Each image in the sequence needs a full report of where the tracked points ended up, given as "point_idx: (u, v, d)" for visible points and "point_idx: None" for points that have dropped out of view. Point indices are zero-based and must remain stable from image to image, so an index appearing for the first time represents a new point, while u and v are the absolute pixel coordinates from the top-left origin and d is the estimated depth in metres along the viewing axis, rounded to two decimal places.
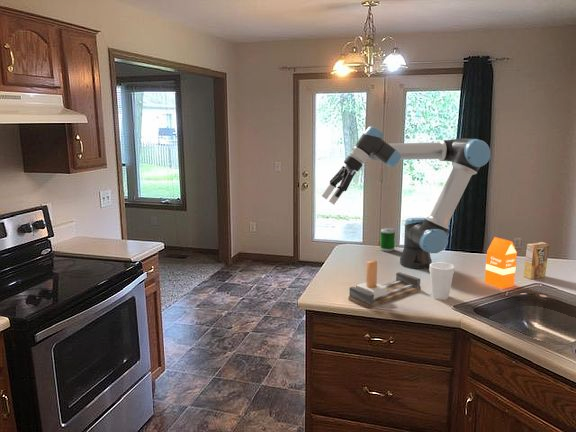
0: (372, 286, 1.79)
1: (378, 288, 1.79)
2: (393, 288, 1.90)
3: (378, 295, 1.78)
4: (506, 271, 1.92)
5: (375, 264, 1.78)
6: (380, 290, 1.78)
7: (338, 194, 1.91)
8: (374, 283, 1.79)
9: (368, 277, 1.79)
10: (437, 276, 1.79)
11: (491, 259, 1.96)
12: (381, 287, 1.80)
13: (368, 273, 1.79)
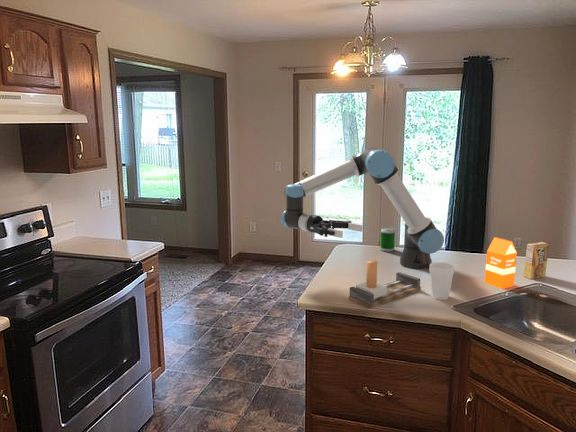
0: (372, 286, 1.79)
1: (378, 288, 1.79)
2: (393, 288, 1.90)
3: (378, 295, 1.78)
4: (506, 271, 1.92)
5: (375, 264, 1.78)
6: (380, 290, 1.78)
7: (330, 233, 1.81)
8: (374, 283, 1.79)
9: (368, 277, 1.79)
10: (437, 276, 1.80)
11: (491, 259, 1.96)
12: (381, 287, 1.80)
13: (368, 273, 1.79)
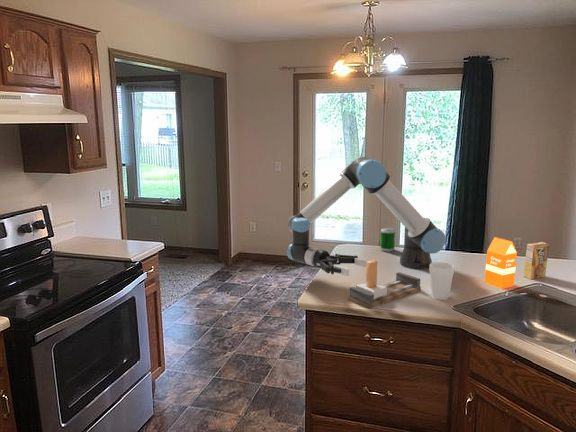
0: (372, 286, 1.79)
1: (378, 288, 1.79)
2: (393, 288, 1.90)
3: (378, 295, 1.78)
4: (506, 271, 1.92)
5: (375, 264, 1.78)
6: (380, 290, 1.78)
7: (336, 270, 1.81)
8: (374, 283, 1.79)
9: (368, 277, 1.79)
10: (437, 276, 1.80)
11: (491, 259, 1.96)
12: (381, 287, 1.80)
13: (368, 273, 1.79)
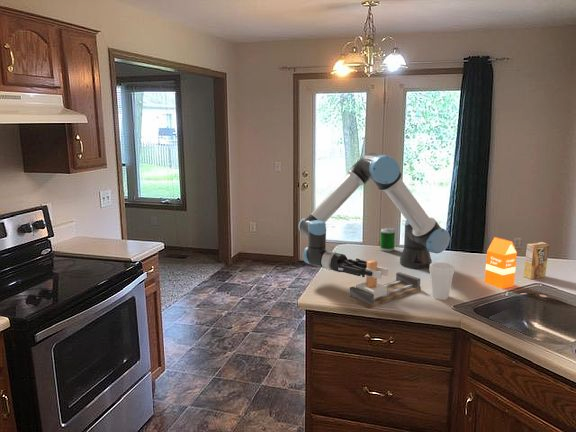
0: (372, 286, 1.79)
1: (378, 288, 1.79)
2: (393, 288, 1.90)
3: (378, 295, 1.78)
4: (506, 271, 1.92)
5: (375, 264, 1.78)
6: (380, 290, 1.78)
7: (368, 273, 1.77)
8: (374, 283, 1.79)
9: (368, 277, 1.79)
10: (437, 276, 1.79)
11: (491, 259, 1.96)
12: (381, 287, 1.80)
13: None
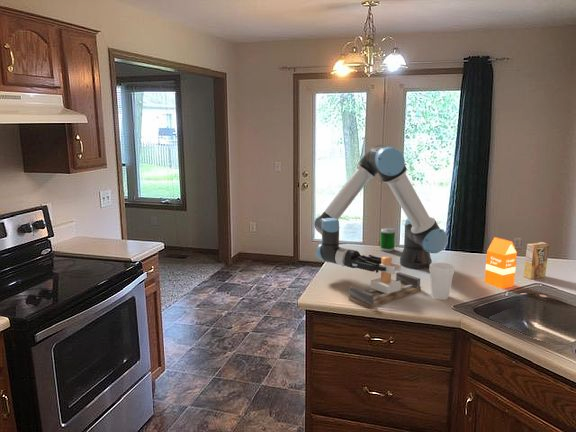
0: (386, 281, 1.84)
1: (392, 283, 1.84)
2: None
3: (392, 290, 1.83)
4: (506, 271, 1.92)
5: (390, 260, 1.83)
6: (395, 285, 1.83)
7: (381, 269, 1.82)
8: (388, 278, 1.84)
9: (383, 273, 1.84)
10: (437, 276, 1.79)
11: (491, 259, 1.96)
12: (395, 282, 1.85)
13: None
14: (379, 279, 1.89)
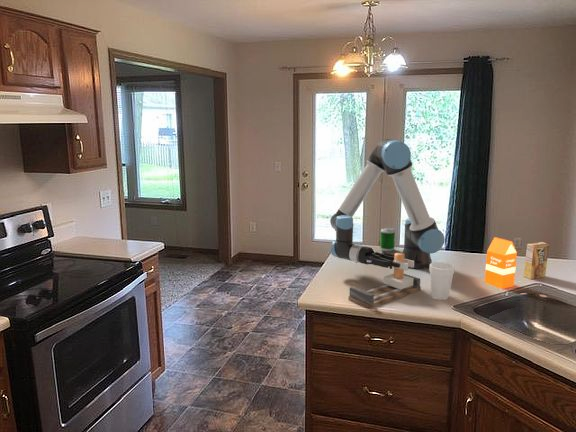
0: (399, 277, 1.89)
1: (405, 279, 1.88)
2: (393, 288, 1.90)
3: (405, 286, 1.87)
4: (506, 271, 1.92)
5: (402, 256, 1.87)
6: (407, 281, 1.88)
7: (395, 265, 1.86)
8: (401, 274, 1.89)
9: (396, 269, 1.89)
10: (437, 276, 1.79)
11: (491, 259, 1.96)
12: (408, 278, 1.89)
13: None
14: (392, 275, 1.93)
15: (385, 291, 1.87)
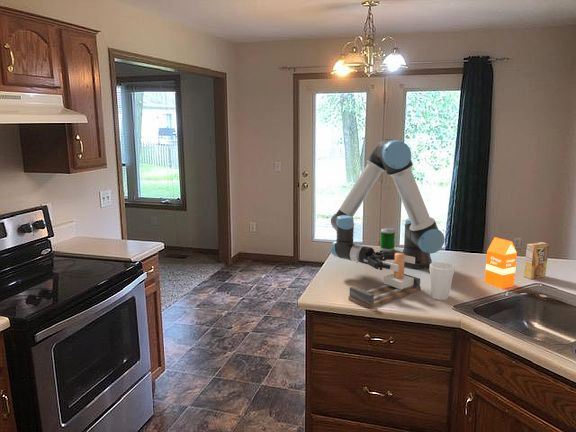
0: (400, 277, 1.89)
1: (405, 279, 1.88)
2: (393, 288, 1.90)
3: (406, 286, 1.87)
4: (506, 271, 1.92)
5: (403, 256, 1.87)
6: (408, 281, 1.88)
7: (386, 266, 1.85)
8: (402, 274, 1.89)
9: None
10: (437, 276, 1.79)
11: (491, 259, 1.96)
12: (408, 278, 1.89)
13: None
14: (392, 275, 1.93)
15: (385, 291, 1.87)
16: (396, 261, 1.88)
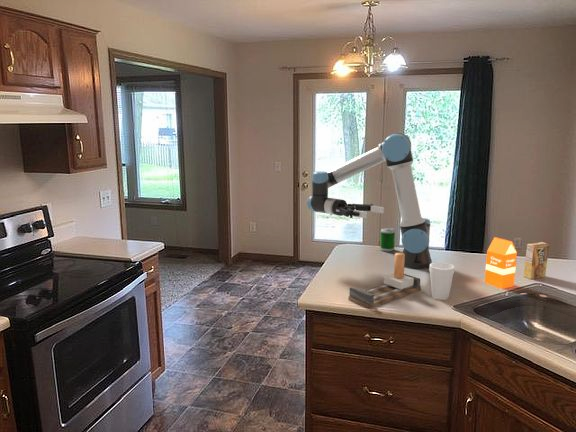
0: (400, 277, 1.89)
1: (405, 279, 1.88)
2: (393, 288, 1.90)
3: (406, 286, 1.87)
4: (506, 271, 1.92)
5: (403, 256, 1.87)
6: (408, 281, 1.88)
7: (355, 214, 1.98)
8: (402, 274, 1.89)
9: (396, 269, 1.89)
10: (437, 276, 1.79)
11: (491, 259, 1.96)
12: (408, 278, 1.89)
13: (396, 265, 1.89)
14: (392, 275, 1.93)
15: (385, 291, 1.87)
16: (396, 261, 1.88)
